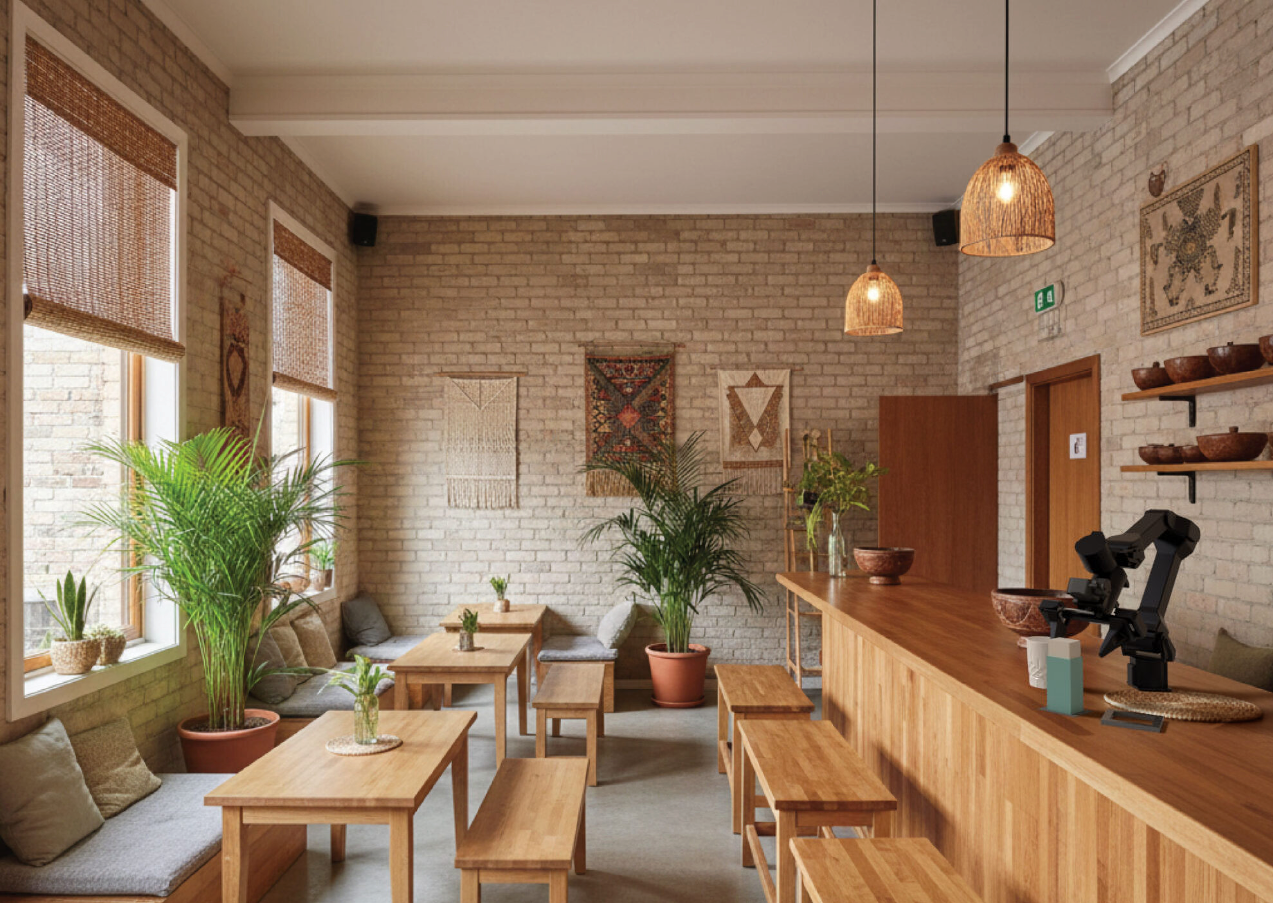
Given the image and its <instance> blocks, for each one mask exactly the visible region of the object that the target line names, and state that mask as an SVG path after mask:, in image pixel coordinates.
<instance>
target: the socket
mask: <svg viewBox="0 0 1273 903" xmlns="http://www.w3.org/2000/svg"><path fill="white" fill-rule="evenodd" d="M1114 717H1119V718H1127V719H1128V718H1129V719H1136V720H1143V721H1151V722H1152V724H1148V723H1147V724H1146V723H1141V722H1132V721H1125V720H1118V719H1113V718H1114ZM1164 717H1165V716H1164V715H1158V714H1151V713H1150V714H1149V713H1144V712H1143V713H1142V712H1135V711H1128V710H1121V709H1114V708H1107V709H1106V710H1105V712H1104V714H1103V715H1102V717H1100V724H1101V725H1102V726H1110V727H1117V728H1123V729H1130V730H1138V731H1143V732H1151V733H1158V734H1160V732H1161V730H1162V726H1163V724H1164V721H1165V720H1164Z"/></svg>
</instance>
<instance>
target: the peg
mask: <svg viewBox="0 0 1273 903" xmlns="http://www.w3.org/2000/svg"><path fill="white" fill-rule="evenodd" d="M1081 650H1082V649H1081V640H1078V639H1074V638H1073V639H1072V638H1066V637H1063V638H1060V637H1059V638H1054V639H1049V640H1048V655H1047V689H1046V706H1047V709H1048V710H1052V711H1057V712H1061V713H1066V714H1070V715H1071V714H1075V713H1078V712H1081V711H1083V709H1084V662H1083V661H1084V660H1083V659H1084V657H1083V656H1081V655H1082V654H1081Z"/></svg>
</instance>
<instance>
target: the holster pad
mask: <svg viewBox="0 0 1273 903" xmlns="http://www.w3.org/2000/svg"><path fill="white" fill-rule="evenodd" d="M1038 710H1040V711H1042V712H1043V711H1045V712H1048V713H1053V714H1056V715H1062V716H1066V717H1070V718H1077V717H1080V716H1084V715H1087V714H1090V713H1094V710H1089V709H1085V708H1083V711H1081V712H1078V713H1075V714H1071V715H1070V714H1066V713H1061V712H1057V711H1052V710H1048V709H1047V705H1046V706H1043V707H1039V708H1038Z"/></svg>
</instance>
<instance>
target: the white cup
mask: <svg viewBox="0 0 1273 903" xmlns="http://www.w3.org/2000/svg"><path fill="white" fill-rule="evenodd" d="M1049 639H1050V636H1040V635H1039V636H1028V637H1026V639H1025V640H1026V653H1027V654H1026V656H1027V658H1026V659H1027V668H1028V669H1027V670H1028V677H1029V678H1028V679H1029V685H1030V686H1031V687H1034V688H1039V689H1043V690H1047V655H1048V640H1049Z"/></svg>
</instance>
